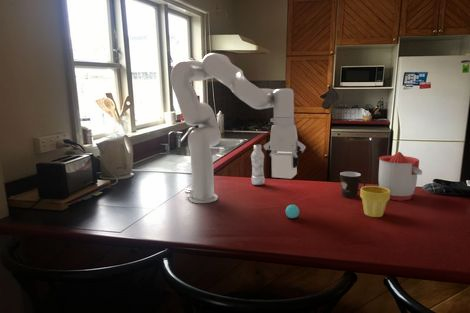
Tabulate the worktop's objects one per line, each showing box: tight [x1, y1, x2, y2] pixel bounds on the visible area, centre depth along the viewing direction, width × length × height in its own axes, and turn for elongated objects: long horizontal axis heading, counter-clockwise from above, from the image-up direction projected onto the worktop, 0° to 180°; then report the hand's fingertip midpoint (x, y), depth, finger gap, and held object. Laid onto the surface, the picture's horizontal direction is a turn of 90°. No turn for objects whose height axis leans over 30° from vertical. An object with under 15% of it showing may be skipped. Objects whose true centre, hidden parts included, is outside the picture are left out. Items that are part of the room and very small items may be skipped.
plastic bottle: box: [250, 144, 266, 186], centre depth 177 cm, size 6×7×20 cm
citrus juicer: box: [378, 151, 423, 202], centre depth 153 cm, size 16×17×20 cm
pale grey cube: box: [271, 151, 298, 180], centre depth 139 cm, size 8×8×9 cm
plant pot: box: [359, 185, 390, 218], centre depth 135 cm, size 10×10×10 cm
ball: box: [285, 204, 300, 219], centre depth 133 cm, size 5×5×5 cm
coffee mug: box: [339, 171, 366, 199], centre depth 156 cm, size 12×9×10 cm
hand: (284, 166), depth 140 cm, fingers closed on pale grey cube, 7 cm apart
